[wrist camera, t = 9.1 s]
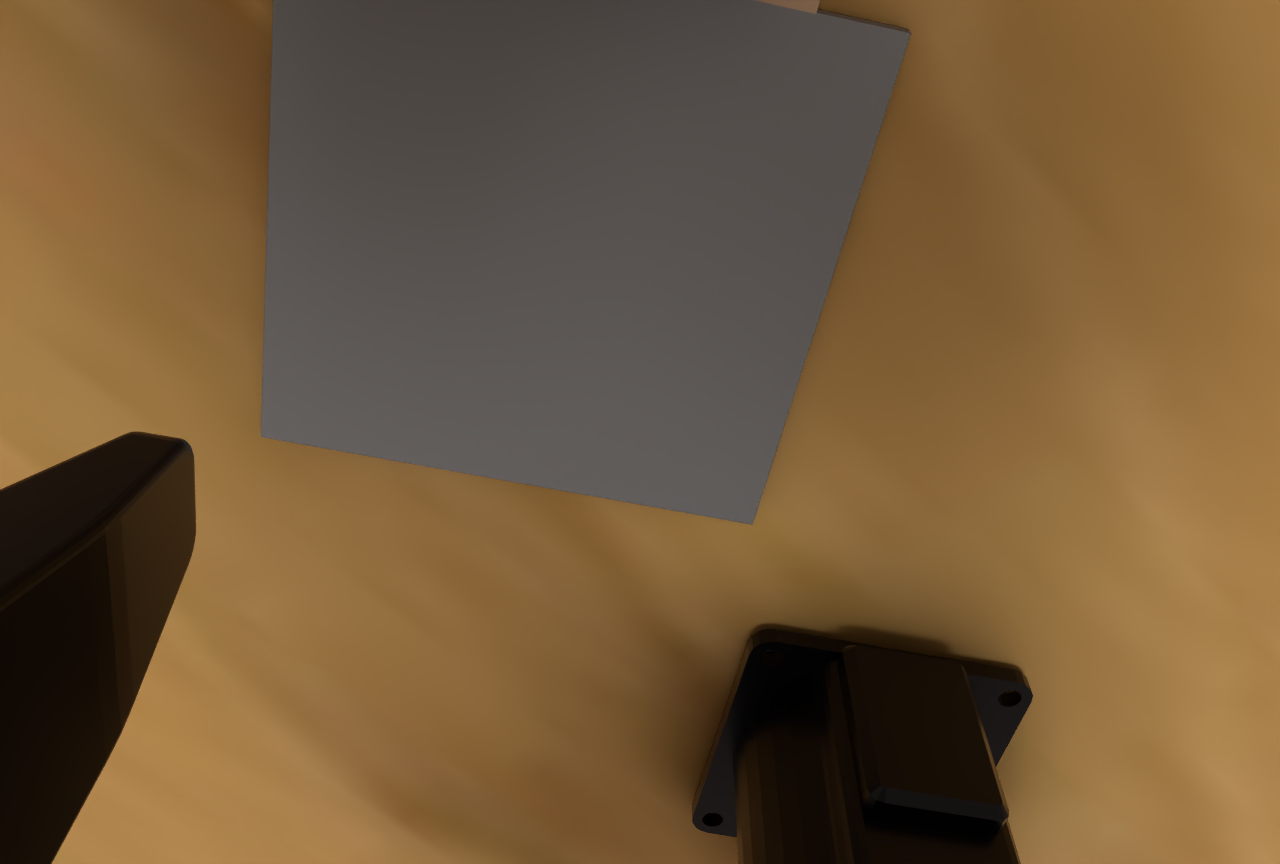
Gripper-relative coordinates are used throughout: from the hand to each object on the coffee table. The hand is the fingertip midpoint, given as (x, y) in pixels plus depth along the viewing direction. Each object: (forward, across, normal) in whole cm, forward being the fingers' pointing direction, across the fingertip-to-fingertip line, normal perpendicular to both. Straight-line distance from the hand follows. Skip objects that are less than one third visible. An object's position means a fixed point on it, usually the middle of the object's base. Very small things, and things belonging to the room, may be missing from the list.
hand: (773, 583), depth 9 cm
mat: (+12, +2, +3) cm, 13 cm away
